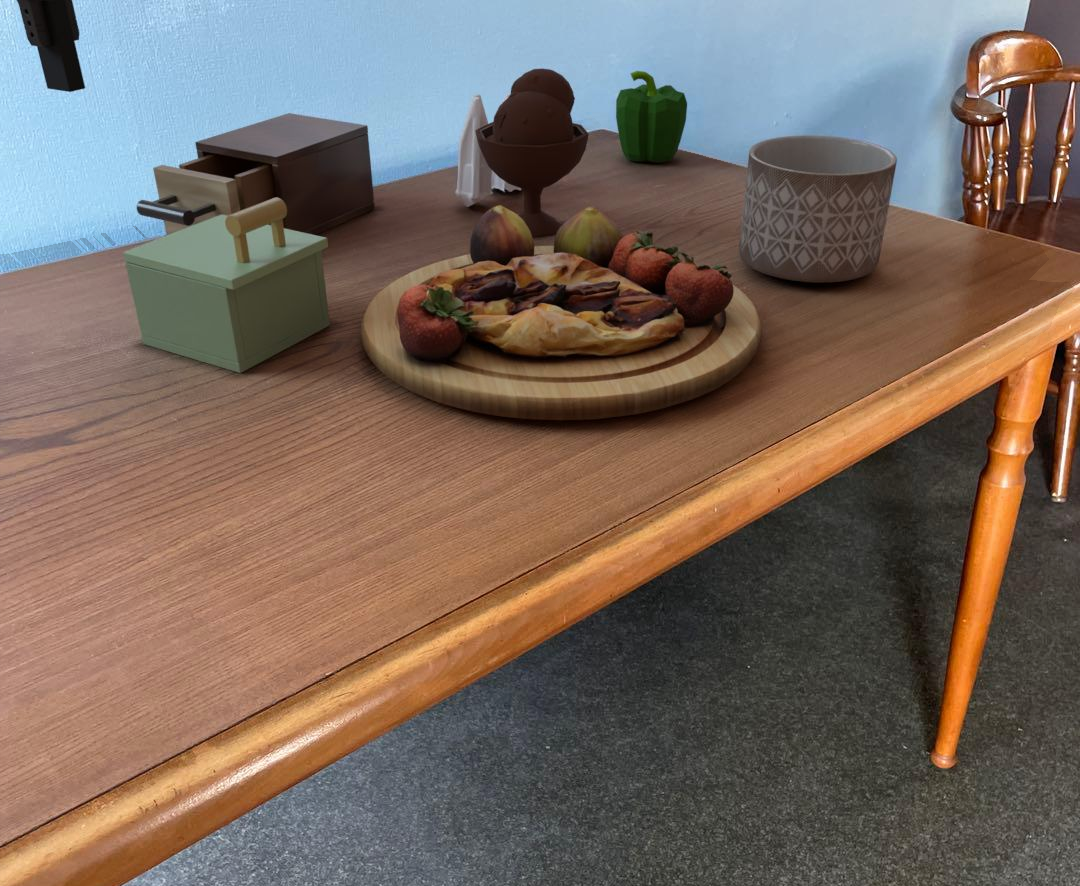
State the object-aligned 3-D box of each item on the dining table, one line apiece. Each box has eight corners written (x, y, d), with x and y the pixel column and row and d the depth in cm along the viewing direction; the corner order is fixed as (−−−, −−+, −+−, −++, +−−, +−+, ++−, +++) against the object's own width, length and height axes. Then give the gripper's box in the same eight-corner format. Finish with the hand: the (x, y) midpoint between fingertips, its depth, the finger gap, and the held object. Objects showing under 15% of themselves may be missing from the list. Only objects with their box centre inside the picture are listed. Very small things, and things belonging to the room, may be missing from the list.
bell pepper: (687, 151, 134) (694, 65, 129) (679, 170, 128) (685, 79, 122) (620, 147, 136) (624, 61, 130) (608, 165, 130) (611, 76, 124)
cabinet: (289, 246, 107) (276, 156, 102) (210, 228, 111) (194, 141, 106) (375, 208, 116) (367, 125, 111) (299, 193, 121) (289, 112, 116)
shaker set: (478, 217, 114) (474, 106, 108) (444, 211, 116) (438, 101, 109) (533, 186, 123) (532, 82, 116) (501, 181, 124) (498, 78, 118)
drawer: (205, 269, 99) (191, 194, 95) (133, 251, 103) (117, 178, 99) (325, 218, 111) (317, 150, 107) (256, 204, 115) (246, 137, 111)
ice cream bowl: (487, 209, 116) (483, 58, 108) (591, 213, 115) (595, 61, 106) (468, 242, 107) (462, 81, 99) (581, 247, 106) (584, 84, 98)
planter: (905, 279, 99) (928, 162, 93) (792, 303, 94) (808, 182, 88) (818, 237, 108) (833, 129, 102) (711, 257, 104) (721, 145, 98)
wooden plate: (448, 470, 71) (441, 354, 67) (315, 301, 95) (303, 207, 90) (842, 376, 82) (860, 271, 78) (635, 246, 106) (639, 160, 102)
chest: (330, 325, 91) (320, 245, 87) (240, 373, 83) (225, 288, 79) (236, 300, 95) (223, 223, 91) (143, 344, 88) (124, 262, 84)
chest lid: (328, 247, 87) (322, 191, 84) (233, 290, 79) (223, 230, 77) (223, 223, 91) (214, 170, 89) (124, 261, 84) (111, 205, 81)
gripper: (23, -275, 80) (99, 69, 93) (-148, -284, 71) (-36, 99, 84) (92, -279, 77) (161, 77, 90) (-77, -289, 68) (28, 110, 81)
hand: (66, 88), depth 87 cm, fingers closed
